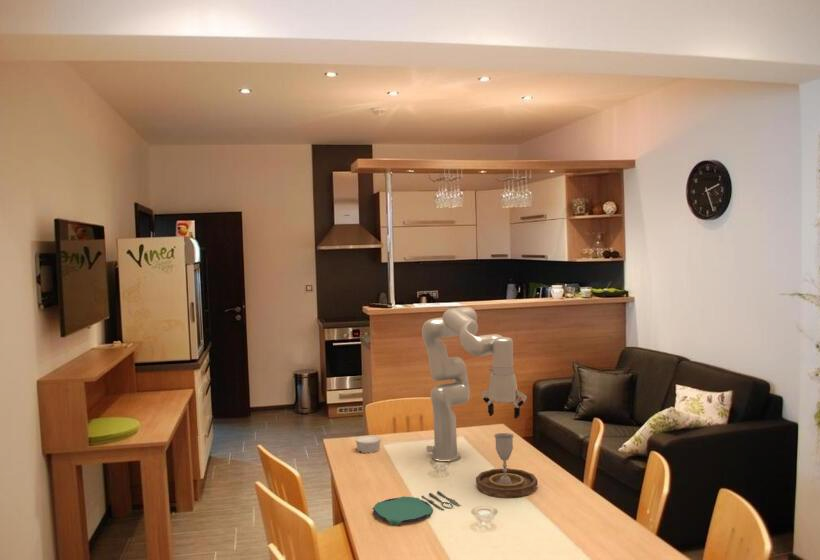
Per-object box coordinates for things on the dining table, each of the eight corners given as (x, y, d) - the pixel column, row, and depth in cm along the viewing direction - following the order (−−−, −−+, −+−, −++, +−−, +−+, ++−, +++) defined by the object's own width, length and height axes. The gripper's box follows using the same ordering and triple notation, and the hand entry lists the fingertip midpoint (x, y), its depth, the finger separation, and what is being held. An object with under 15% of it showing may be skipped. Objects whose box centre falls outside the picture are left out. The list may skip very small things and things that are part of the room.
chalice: (514, 479, 241) (513, 432, 241) (515, 486, 235) (514, 438, 234) (495, 479, 242) (493, 433, 241) (495, 486, 235) (494, 438, 235)
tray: (468, 493, 233) (468, 485, 233) (488, 473, 253) (487, 465, 253) (527, 501, 223) (527, 493, 223) (543, 480, 243) (542, 472, 243)
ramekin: (352, 448, 291) (352, 437, 291) (375, 445, 295) (375, 433, 295) (361, 455, 281) (360, 443, 280) (384, 451, 285) (384, 439, 285)
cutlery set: (363, 510, 221) (363, 503, 221) (437, 492, 236) (437, 486, 236) (390, 532, 204) (390, 524, 204) (468, 511, 219) (467, 505, 219)
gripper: (477, 371, 237) (478, 416, 238) (523, 374, 229) (523, 421, 230) (484, 367, 243) (485, 411, 244) (528, 370, 236) (529, 416, 237)
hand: (503, 416), depth 237 cm, fingers open, 9 cm apart
